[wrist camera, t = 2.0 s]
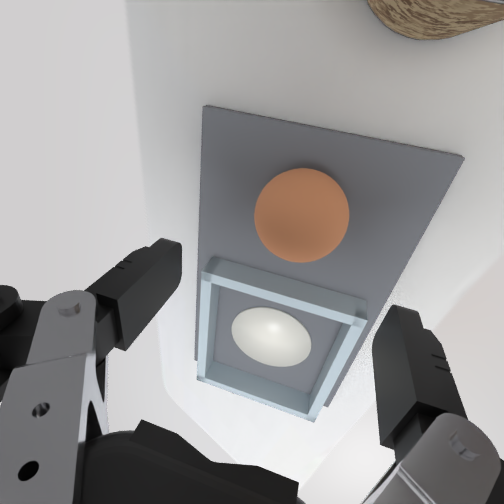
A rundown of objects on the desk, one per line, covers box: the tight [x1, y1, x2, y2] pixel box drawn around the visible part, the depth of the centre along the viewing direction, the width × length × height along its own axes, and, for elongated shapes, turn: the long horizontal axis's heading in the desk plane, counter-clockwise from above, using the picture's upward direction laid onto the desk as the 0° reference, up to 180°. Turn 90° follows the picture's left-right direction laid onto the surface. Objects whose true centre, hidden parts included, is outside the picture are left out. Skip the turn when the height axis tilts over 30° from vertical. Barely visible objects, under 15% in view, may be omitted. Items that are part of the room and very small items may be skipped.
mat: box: [195, 105, 465, 407], centre depth 22 cm, size 24×14×1 cm, turn 172°
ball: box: [254, 168, 349, 263], centre depth 15 cm, size 5×5×5 cm
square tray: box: [197, 256, 368, 422], centre depth 24 cm, size 14×12×2 cm
